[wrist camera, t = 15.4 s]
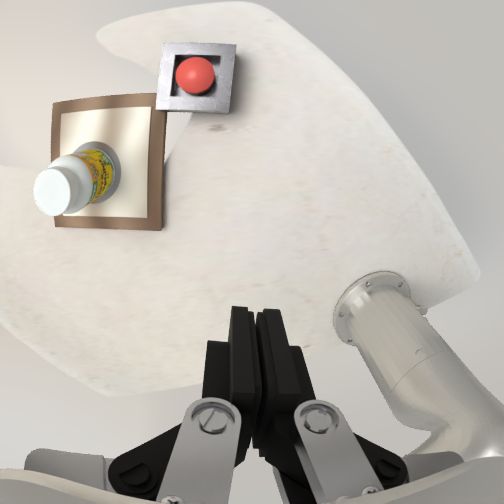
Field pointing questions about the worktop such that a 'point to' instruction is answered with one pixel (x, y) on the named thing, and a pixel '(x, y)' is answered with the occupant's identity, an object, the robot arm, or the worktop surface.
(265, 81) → the worktop surface
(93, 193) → the supplement bottle
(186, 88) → the button
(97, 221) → the brown bordered square board
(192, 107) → the button housing
